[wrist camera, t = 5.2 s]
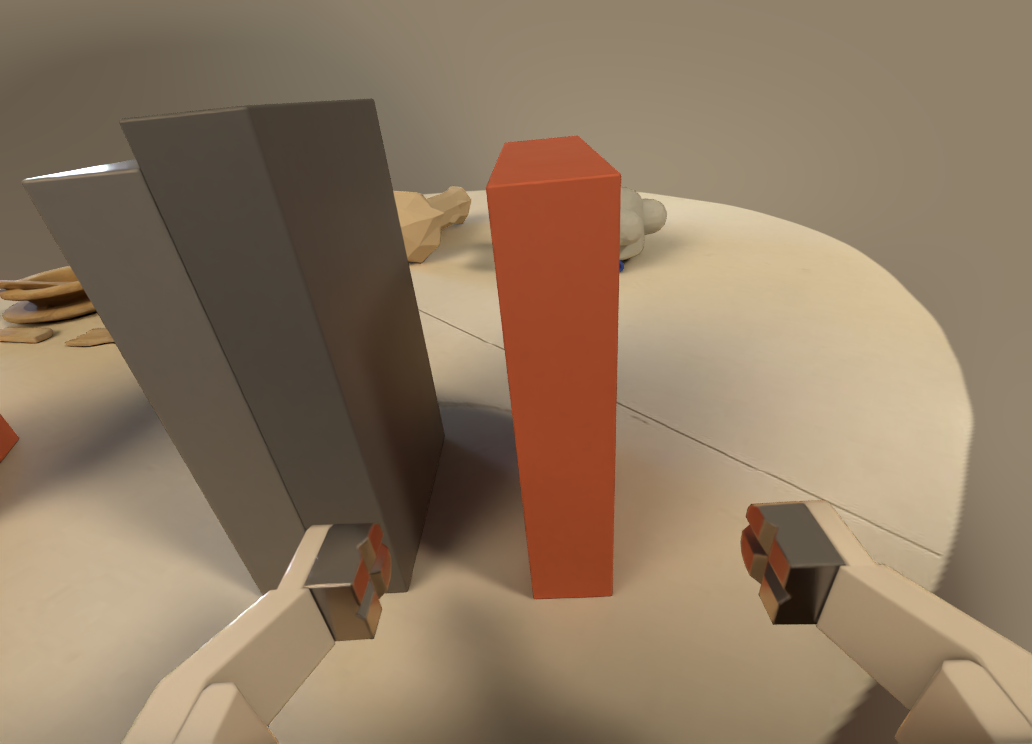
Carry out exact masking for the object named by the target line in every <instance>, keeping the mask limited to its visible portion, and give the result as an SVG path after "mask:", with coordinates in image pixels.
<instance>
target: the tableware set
mask: <svg viewBox="0 0 1032 744" xmlns="http://www.w3.org/2000/svg"><path fill="white" fill-rule="evenodd" d="M0 289H1V290H0V297H1V298H2V299H4V300H12V301H20V302H18V303H16V304H14V305H12V306H11V307H9V308H8V309H7V310H5V312H4V313H3V315H2V317H3V318H4V319H5V320H6V321H8V322H12V323H35V322H50V321H58V320H64V319H69V318H73V317H77V316H81V315H85V314H88V313H92V312H95V311H96V310H95V308H94V306H93V304H92V303H91V301H90V299H89V298H88V296H87V294H86V292H85V291H84V289H83V287H82V286H81V284H80V282H79V281H78V279H77V277H76V275H75V274H74V272H73V270H72V269H71V267H70V266H68V267H63V268H59V269H54V270H51V271H47V272H42V273H39V274H35V275H32V276H29V277H26V278H23V279H21V280H18V281H11V280H0ZM52 335H53V331H52V329H50V328H28V327H7V328H4V329H0V341H10V342H29V343H38V342H40V341H43V340H45V339H47V338H49V337H51V336H52ZM107 342H114V340H113V339H112V337H111V335H110V334H109V332H108V330H107V328H98V329H92V330H90V331H88V332H86V334H84V335H80V336H78V337H76V339H71V340H69V341H67V342H65V345H67V346H92V345H97V344H102V343H107Z"/></svg>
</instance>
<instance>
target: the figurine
mask: <svg viewBox="0 0 1032 744" xmlns="http://www.w3.org/2000/svg"><path fill="white" fill-rule="evenodd" d="M666 217H667V212H666V209H665V207H664V205H663V204H662V203H661V202H659V201H657V200H654V199H642V198H641V196H640V195H639V194H638V193H637V192H636V191H634V190H632V189H629V188H626V187H621V209H620V257H619V272H621V271H622V270H623V269H624V264H623V262H622V261H621V260H624V259H628V258H630V257H633V256H635V255H637V254H639V253H640V252H641V251H642V249H643V248H644V235H647V234H652V233H655V232H657V231H659V230H660V229H661V228H662V227H663V226H664V225H665V222H666Z"/></svg>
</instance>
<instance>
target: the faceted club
mask: <svg viewBox="0 0 1032 744" xmlns="http://www.w3.org/2000/svg"><path fill="white" fill-rule="evenodd" d="M393 192H394V197H395V202H396V207H397V211H398V216H399V221H400V226H401V230H402V235H403V240H404V245H405V249H406V254H407V259H408V262H418V263H422V262H423V261H424V260H425V259H426V258H427V257H428V256H429V255H430V254H431V253H432V252H433V251H434V250H435V249H436V248H437V247H438V246H439V245H440V241H441V230H443V229H445V228H447V227H448V226H450V225H452V224H463V223H464V221H465V219H466V217H467V216H468V213H469V209H470V204H471V199H470V197H469V196H468V195H467V193H466V192H465V190H464V189H463V188H462V187H450V188H449V189H448V190H447V191H446V192H444V193H442V194H440V195H437V196H434V197H431V198H428V199H426V198H425V197H424V196H423V195H422V194H420V193H415V192H402V191H393Z"/></svg>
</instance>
